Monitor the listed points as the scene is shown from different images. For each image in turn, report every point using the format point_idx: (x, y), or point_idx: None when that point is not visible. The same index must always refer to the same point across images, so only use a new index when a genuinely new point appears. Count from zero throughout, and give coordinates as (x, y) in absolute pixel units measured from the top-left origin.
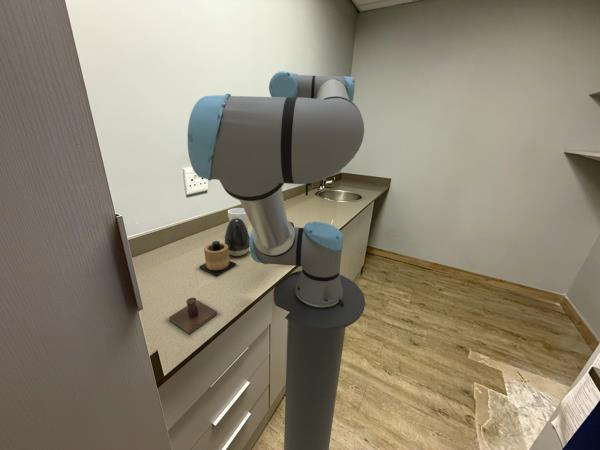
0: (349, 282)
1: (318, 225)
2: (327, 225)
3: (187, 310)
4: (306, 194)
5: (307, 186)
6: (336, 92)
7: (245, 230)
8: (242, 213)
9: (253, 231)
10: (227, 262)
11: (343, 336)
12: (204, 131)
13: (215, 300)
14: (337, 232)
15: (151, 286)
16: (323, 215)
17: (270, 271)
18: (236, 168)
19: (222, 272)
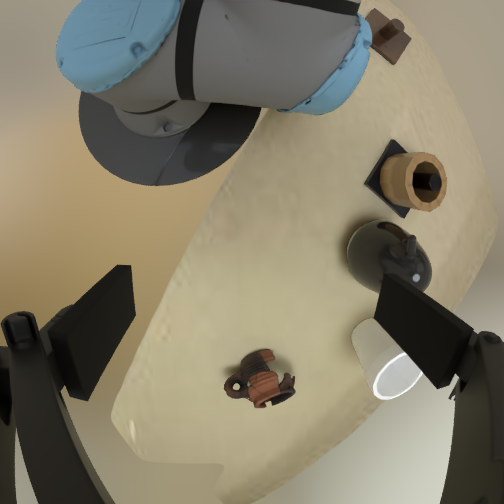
0: (93, 140)
1: (118, 26)
2: (83, 49)
3: (396, 44)
4: (122, 266)
5: (93, 289)
6: None
7: (381, 260)
8: (393, 360)
9: (364, 21)
10: (386, 169)
11: None
12: None
13: (368, 65)
14: (72, 16)
15: (463, 125)
16: (158, 456)
17: (279, 155)
18: None
19: (384, 151)
